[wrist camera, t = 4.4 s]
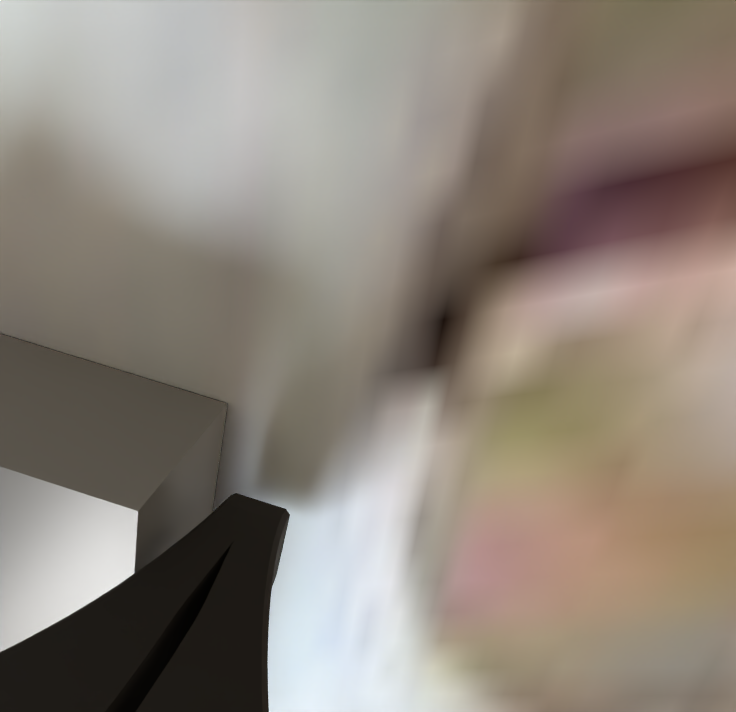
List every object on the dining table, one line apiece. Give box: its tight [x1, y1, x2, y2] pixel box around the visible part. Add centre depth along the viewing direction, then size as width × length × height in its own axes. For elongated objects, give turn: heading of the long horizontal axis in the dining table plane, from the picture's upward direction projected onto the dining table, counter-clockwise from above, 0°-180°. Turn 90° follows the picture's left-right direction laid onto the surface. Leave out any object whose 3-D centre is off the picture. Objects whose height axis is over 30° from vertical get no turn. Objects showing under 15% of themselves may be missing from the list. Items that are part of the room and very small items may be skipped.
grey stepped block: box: [0, 334, 228, 652], centre depth 11 cm, size 7×5×5 cm
